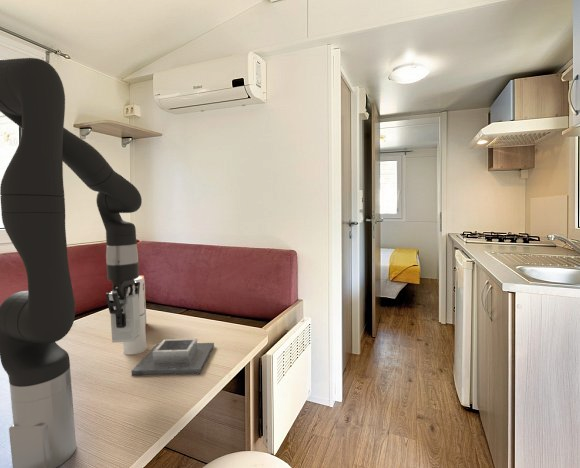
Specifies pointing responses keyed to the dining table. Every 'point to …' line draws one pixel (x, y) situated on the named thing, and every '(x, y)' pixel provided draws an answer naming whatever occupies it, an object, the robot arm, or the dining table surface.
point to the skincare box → (128, 322)
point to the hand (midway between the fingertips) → (125, 323)
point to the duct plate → (174, 358)
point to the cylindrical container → (140, 343)
